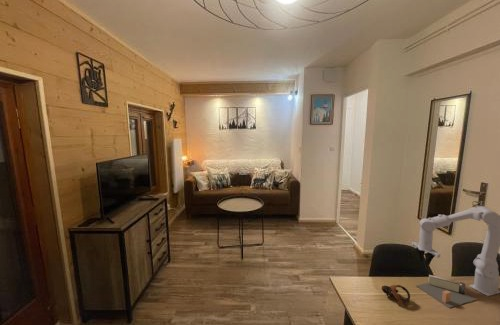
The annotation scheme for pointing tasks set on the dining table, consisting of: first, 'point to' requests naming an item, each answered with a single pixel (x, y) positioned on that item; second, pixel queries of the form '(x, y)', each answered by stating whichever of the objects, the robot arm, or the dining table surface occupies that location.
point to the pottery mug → (393, 289)
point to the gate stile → (446, 296)
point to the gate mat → (454, 298)
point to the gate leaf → (444, 283)
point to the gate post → (462, 288)
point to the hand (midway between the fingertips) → (424, 262)
